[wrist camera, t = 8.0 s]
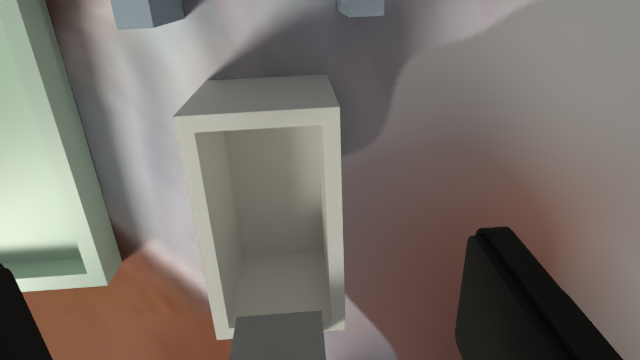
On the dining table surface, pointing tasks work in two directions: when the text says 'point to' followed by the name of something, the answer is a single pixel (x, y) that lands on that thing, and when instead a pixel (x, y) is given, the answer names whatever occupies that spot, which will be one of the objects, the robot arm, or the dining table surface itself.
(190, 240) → the dining table surface
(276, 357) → the box
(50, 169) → the tray
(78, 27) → the dining table surface
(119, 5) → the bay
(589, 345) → the robot arm
